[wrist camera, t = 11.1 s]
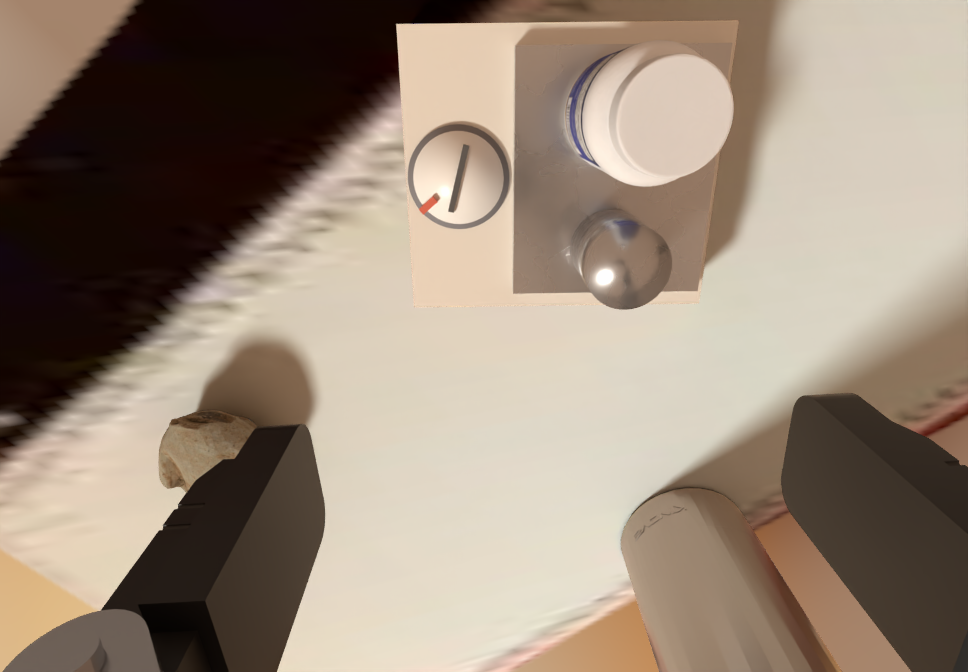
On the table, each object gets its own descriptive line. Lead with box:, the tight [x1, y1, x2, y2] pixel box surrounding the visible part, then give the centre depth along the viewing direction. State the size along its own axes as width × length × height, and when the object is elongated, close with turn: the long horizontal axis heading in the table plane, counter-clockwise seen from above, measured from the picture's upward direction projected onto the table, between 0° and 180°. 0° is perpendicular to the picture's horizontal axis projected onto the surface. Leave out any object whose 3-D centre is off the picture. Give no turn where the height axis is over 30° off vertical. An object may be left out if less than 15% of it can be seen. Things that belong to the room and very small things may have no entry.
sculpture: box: [159, 410, 257, 493], centre depth 38 cm, size 7×5×15 cm
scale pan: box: [512, 43, 732, 294], centre depth 29 cm, size 10×12×1 cm
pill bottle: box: [564, 40, 734, 187], centre depth 23 cm, size 5×5×9 cm
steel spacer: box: [571, 209, 672, 309], centre depth 28 cm, size 4×4×4 cm
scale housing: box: [396, 20, 739, 307], centre depth 30 cm, size 16×14×4 cm
